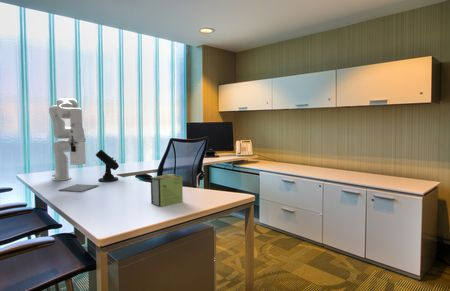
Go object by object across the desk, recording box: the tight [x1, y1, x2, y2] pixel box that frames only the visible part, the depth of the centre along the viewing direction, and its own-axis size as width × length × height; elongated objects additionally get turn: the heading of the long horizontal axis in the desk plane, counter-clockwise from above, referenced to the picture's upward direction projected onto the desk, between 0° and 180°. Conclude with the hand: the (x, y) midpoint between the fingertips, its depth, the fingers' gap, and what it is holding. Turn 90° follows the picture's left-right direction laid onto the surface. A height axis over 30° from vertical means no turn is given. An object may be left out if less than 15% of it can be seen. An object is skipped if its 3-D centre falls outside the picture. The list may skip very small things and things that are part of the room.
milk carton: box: [69, 141, 87, 166], centre depth 208 cm, size 7×7×19 cm
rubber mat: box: [58, 183, 100, 193], centre depth 210 cm, size 18×18×1 cm
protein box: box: [150, 173, 184, 208], centre depth 173 cm, size 10×15×16 cm
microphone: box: [95, 149, 120, 183], centre depth 237 cm, size 15×17×25 cm
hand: (77, 151), depth 208 cm, fingers closed on milk carton, 7 cm apart
